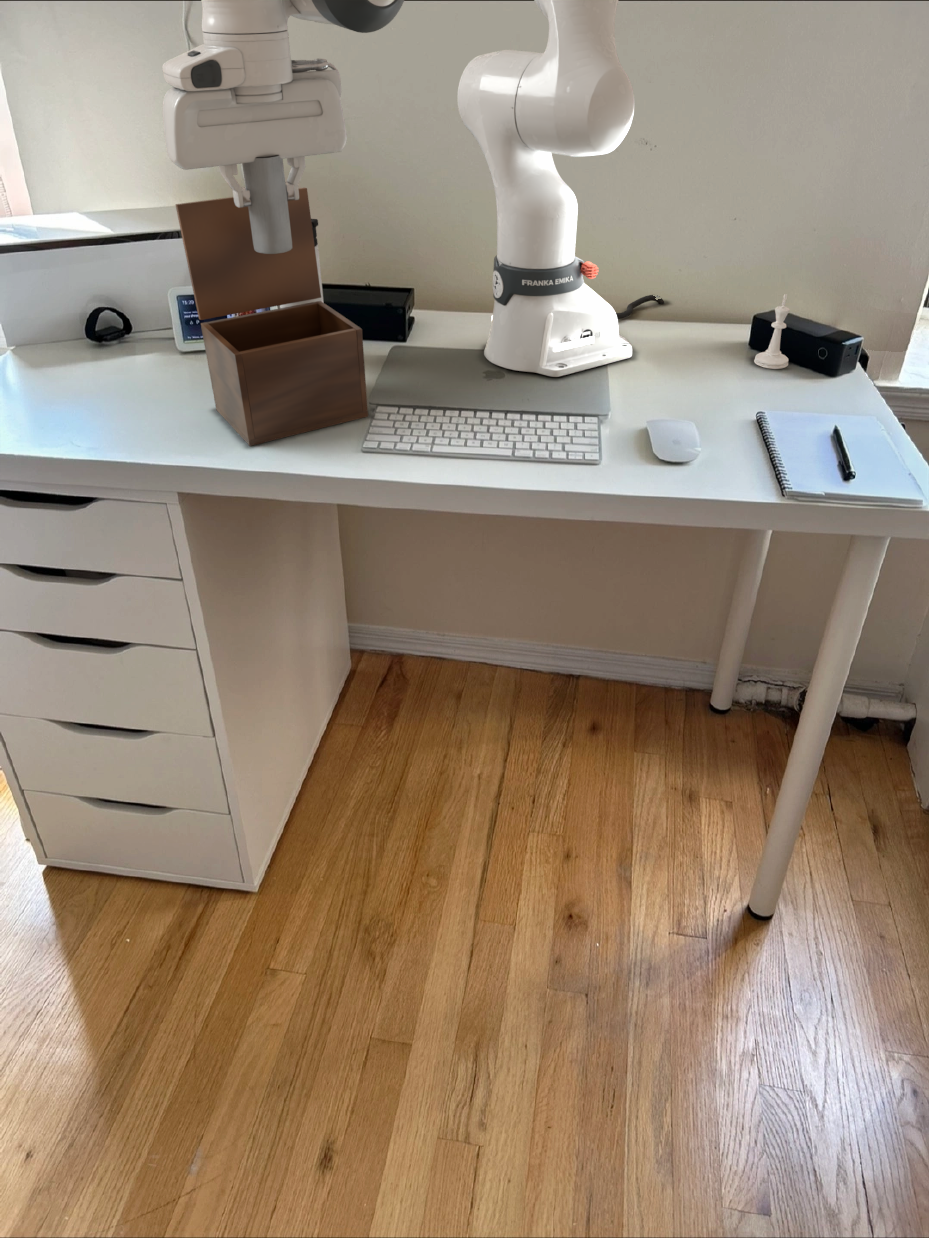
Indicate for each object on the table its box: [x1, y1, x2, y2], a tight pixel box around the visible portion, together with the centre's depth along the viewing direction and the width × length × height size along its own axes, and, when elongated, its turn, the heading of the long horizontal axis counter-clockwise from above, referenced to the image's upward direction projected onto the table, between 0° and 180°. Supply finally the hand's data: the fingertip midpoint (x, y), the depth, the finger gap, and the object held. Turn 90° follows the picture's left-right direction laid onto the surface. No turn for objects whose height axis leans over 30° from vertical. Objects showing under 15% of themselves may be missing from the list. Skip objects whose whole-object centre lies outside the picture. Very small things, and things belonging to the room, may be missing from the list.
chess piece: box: [753, 294, 790, 370], centre depth 131 cm, size 5×5×10 cm
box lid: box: [174, 187, 321, 321], centre depth 113 cm, size 13×17×1 cm
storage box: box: [200, 301, 369, 447], centre depth 117 cm, size 13×17×12 cm
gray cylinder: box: [241, 155, 292, 254], centre depth 104 cm, size 4×4×10 cm
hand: (267, 203), depth 104 cm, fingers closed on gray cylinder, 4 cm apart
